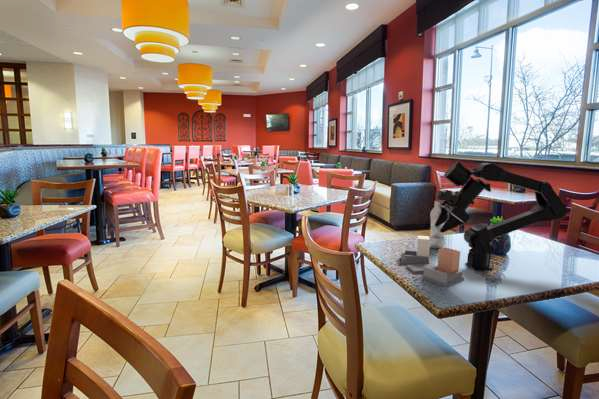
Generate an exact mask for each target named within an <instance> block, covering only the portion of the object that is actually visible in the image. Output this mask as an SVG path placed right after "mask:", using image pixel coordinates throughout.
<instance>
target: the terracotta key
mask: <svg viewBox="0 0 599 399" xmlns="http://www.w3.org/2000/svg"><path fill="white" fill-rule="evenodd" d="M460 257H461V251H460V250H458V249H454V248H449V247H443V248H442V249H438V255H437V265H436V266H437V270H439V271H442V272H445V273H448V274H451V273H453V272H456V271H459V270H460V261H461V260H460V259H461V258H460ZM448 274H447V275H448Z"/></svg>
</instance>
